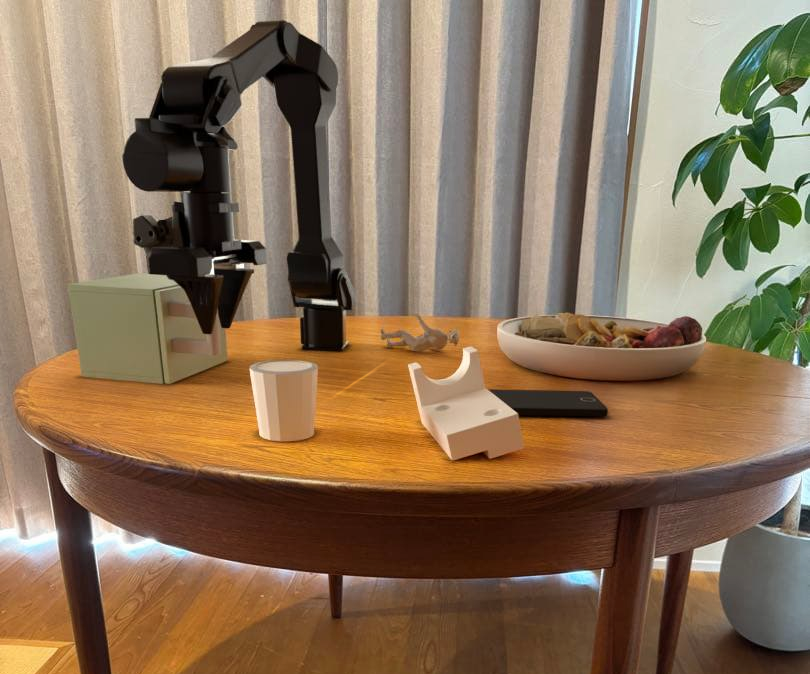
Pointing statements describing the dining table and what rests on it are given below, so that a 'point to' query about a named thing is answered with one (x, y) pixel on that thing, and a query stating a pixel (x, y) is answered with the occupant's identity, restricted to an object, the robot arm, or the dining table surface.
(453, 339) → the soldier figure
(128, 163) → the robot arm
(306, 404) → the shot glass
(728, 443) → the dining table surface
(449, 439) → the bracket
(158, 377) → the cupboard
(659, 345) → the bowl
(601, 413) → the cell phone
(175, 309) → the cupboard door
